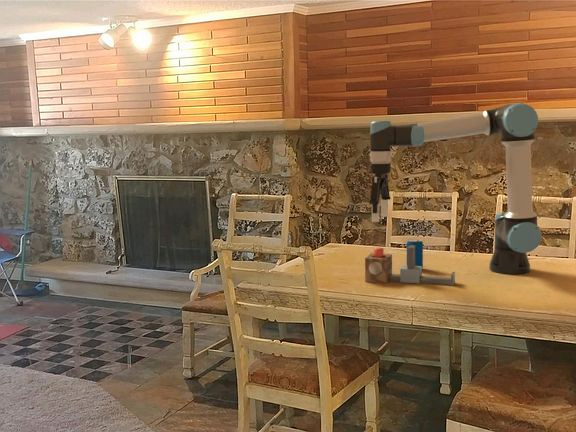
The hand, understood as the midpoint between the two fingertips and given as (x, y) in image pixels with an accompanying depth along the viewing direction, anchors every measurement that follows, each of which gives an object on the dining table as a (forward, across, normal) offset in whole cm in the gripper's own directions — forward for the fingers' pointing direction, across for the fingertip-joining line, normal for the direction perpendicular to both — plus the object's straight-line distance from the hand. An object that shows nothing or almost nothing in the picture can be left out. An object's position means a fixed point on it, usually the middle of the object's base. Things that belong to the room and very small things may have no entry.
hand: (380, 219), depth 232 cm
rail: (+23, 0, +16) cm, 28 cm away
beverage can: (+23, -20, +9) cm, 32 cm away
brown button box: (+23, 0, 0) cm, 23 cm away
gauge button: (+17, 0, 0) cm, 17 cm away
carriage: (+23, 0, +12) cm, 26 cm away
